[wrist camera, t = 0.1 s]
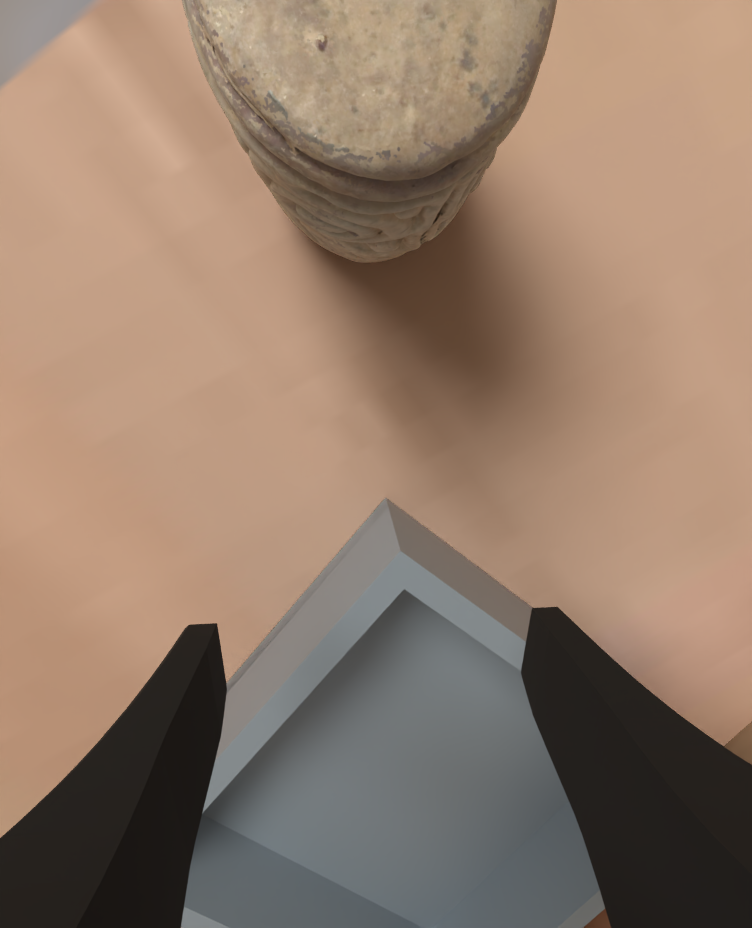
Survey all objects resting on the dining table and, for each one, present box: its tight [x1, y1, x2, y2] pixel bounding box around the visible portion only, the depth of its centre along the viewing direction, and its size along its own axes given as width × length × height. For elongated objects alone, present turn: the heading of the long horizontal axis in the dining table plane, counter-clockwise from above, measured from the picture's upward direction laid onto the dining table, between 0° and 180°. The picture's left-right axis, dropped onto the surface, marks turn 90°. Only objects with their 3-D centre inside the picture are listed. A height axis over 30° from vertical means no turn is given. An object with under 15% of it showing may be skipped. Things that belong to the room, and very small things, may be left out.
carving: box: [182, 0, 557, 263], centre depth 14 cm, size 6×8×12 cm
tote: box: [181, 498, 605, 928], centre depth 24 cm, size 18×18×5 cm
